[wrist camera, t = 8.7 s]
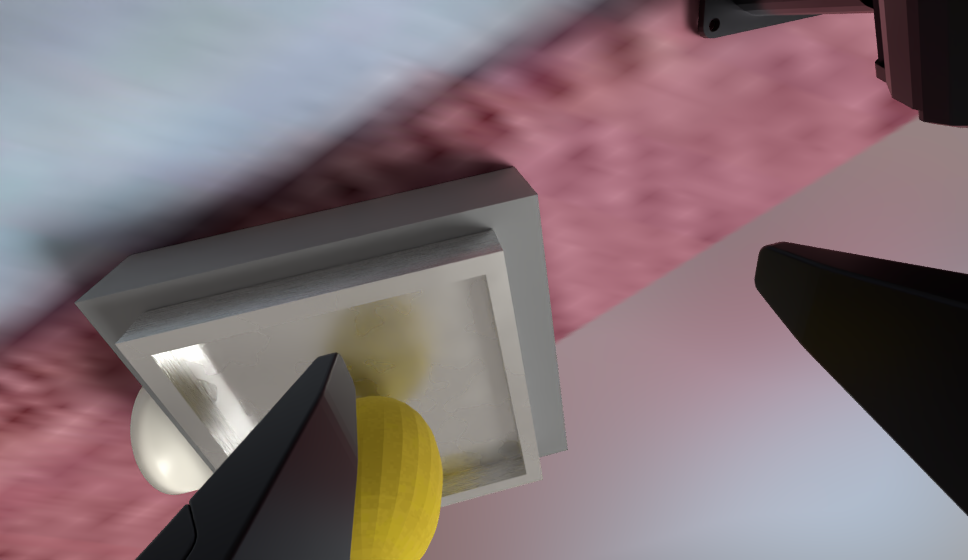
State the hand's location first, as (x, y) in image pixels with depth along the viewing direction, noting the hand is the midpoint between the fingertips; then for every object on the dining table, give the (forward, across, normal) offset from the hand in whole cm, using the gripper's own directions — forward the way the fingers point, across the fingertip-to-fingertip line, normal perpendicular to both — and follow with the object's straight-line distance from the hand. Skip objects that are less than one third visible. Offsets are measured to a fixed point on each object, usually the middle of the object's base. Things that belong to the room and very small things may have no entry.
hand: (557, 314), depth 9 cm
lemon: (+8, +7, +9) cm, 14 cm away
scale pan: (+9, +7, +9) cm, 15 cm away
